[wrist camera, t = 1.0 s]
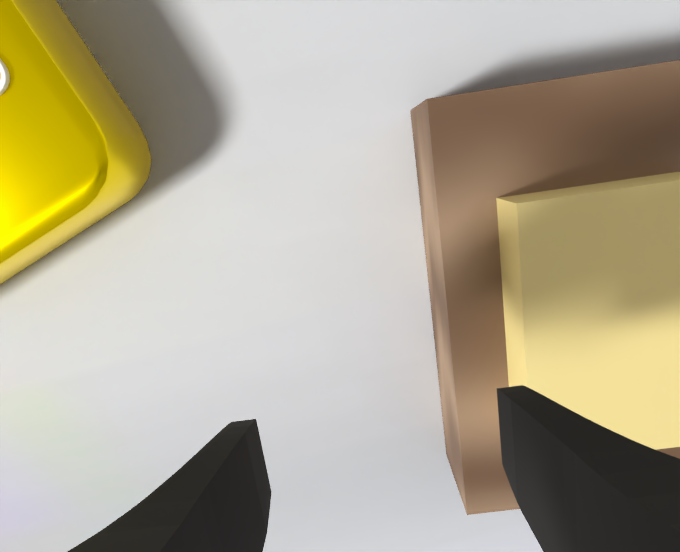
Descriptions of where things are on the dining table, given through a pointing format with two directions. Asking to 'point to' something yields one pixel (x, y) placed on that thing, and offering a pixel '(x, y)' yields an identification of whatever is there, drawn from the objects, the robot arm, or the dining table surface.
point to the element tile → (58, 136)
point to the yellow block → (597, 301)
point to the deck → (482, 222)
